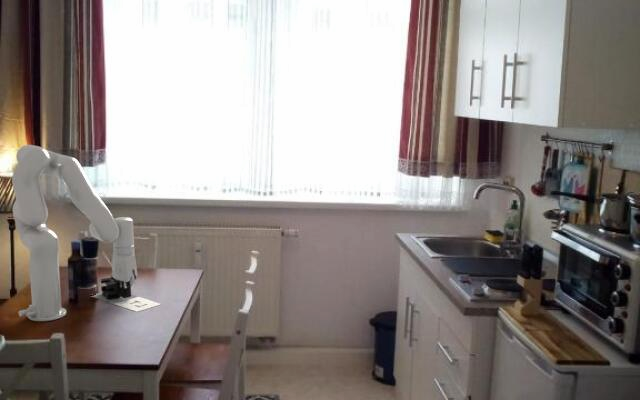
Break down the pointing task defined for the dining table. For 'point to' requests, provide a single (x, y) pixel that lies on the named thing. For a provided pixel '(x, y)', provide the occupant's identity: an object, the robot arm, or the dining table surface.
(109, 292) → the end cap
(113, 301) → the mat
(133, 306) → the board
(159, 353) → the dining table surface
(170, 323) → the dining table surface
